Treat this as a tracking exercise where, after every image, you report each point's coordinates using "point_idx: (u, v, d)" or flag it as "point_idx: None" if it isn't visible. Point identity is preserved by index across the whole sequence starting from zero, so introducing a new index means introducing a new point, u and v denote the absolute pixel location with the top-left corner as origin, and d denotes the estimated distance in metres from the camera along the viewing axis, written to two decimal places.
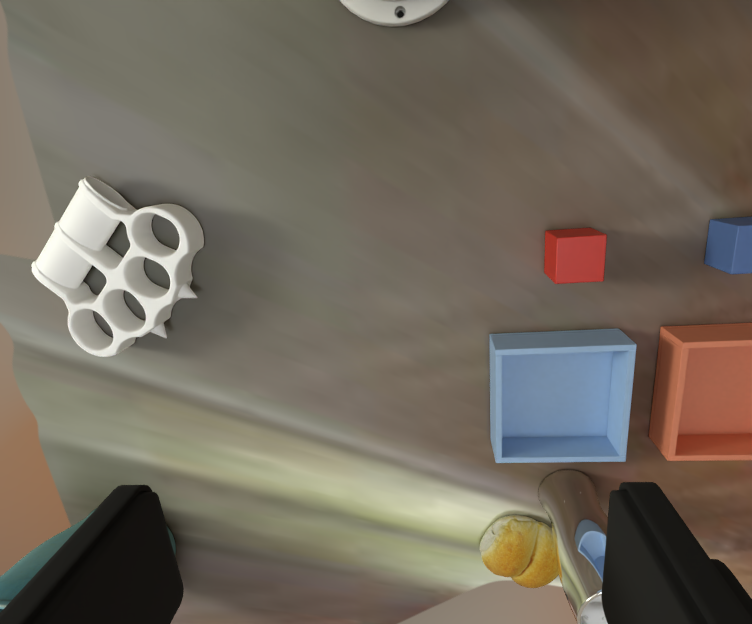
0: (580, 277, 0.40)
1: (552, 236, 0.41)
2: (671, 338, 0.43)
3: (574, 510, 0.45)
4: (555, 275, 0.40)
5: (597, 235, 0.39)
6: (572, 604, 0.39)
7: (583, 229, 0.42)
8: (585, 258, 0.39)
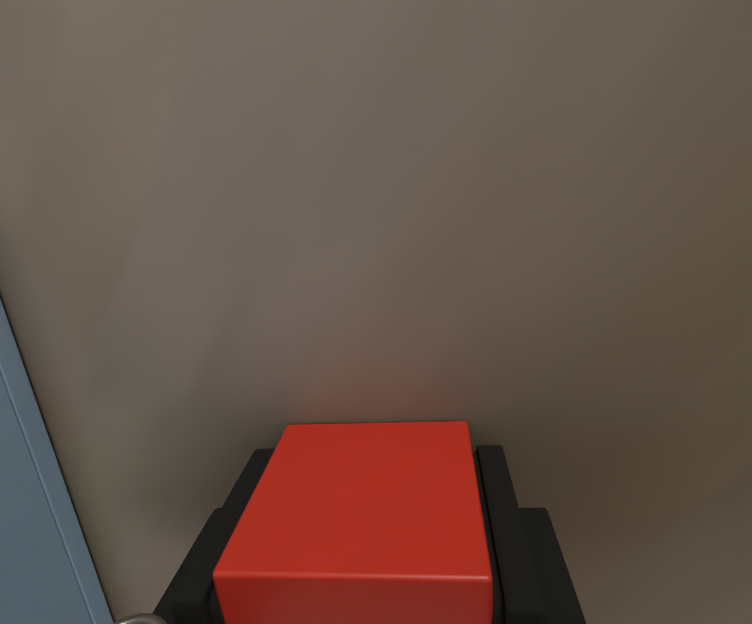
0: None
1: (473, 503, 0.08)
2: None
3: None
4: (260, 565, 0.07)
5: None
6: None
7: None
8: None
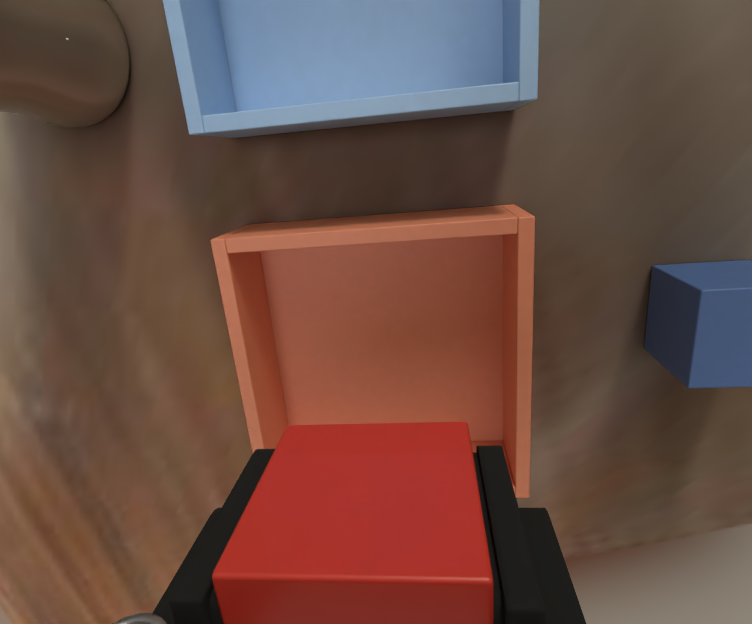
0: None
1: (474, 504, 0.08)
2: (514, 210, 0.18)
3: None
4: (260, 566, 0.07)
5: None
6: None
7: None
8: None
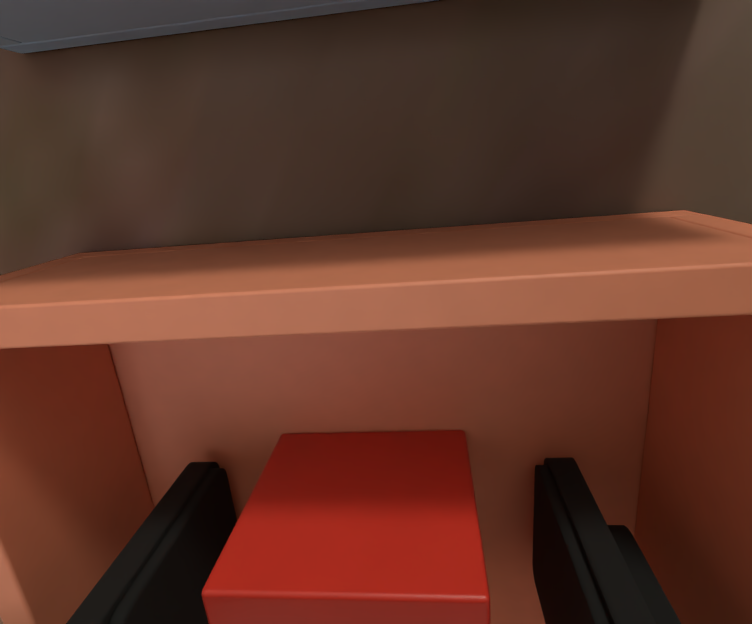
0: None
1: (471, 518, 0.07)
2: (737, 228, 0.07)
3: None
4: (250, 583, 0.07)
5: None
6: None
7: None
8: None
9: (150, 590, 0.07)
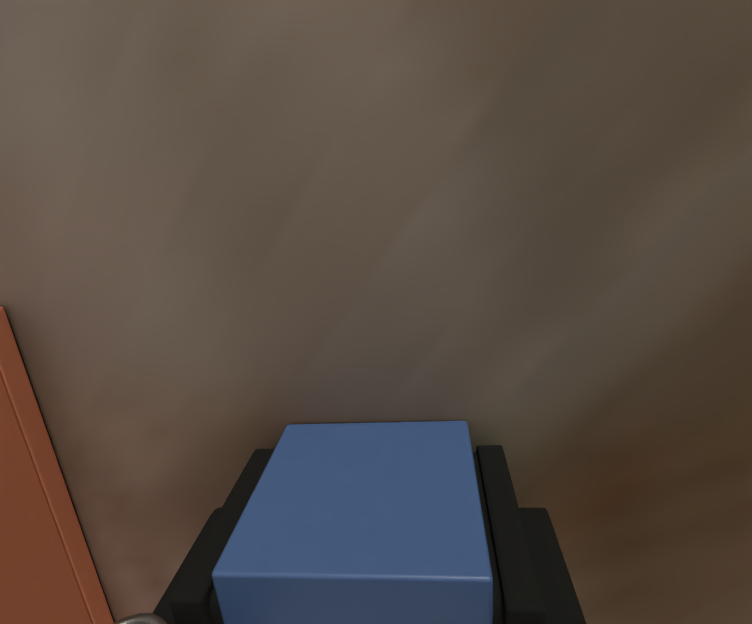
0: None
1: None
2: None
3: None
4: None
5: None
6: None
7: None
8: None
9: None
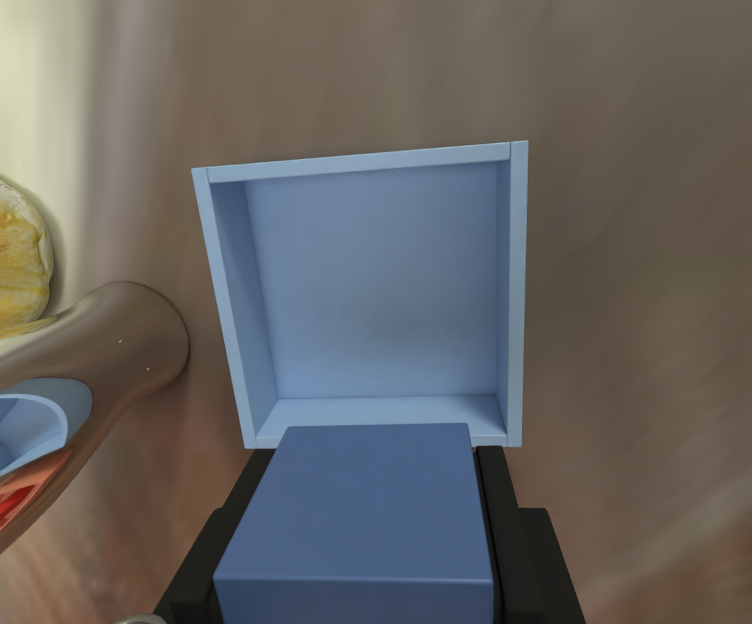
0: None
1: None
2: None
3: (105, 368, 0.19)
4: None
5: None
6: None
7: None
8: None
9: None
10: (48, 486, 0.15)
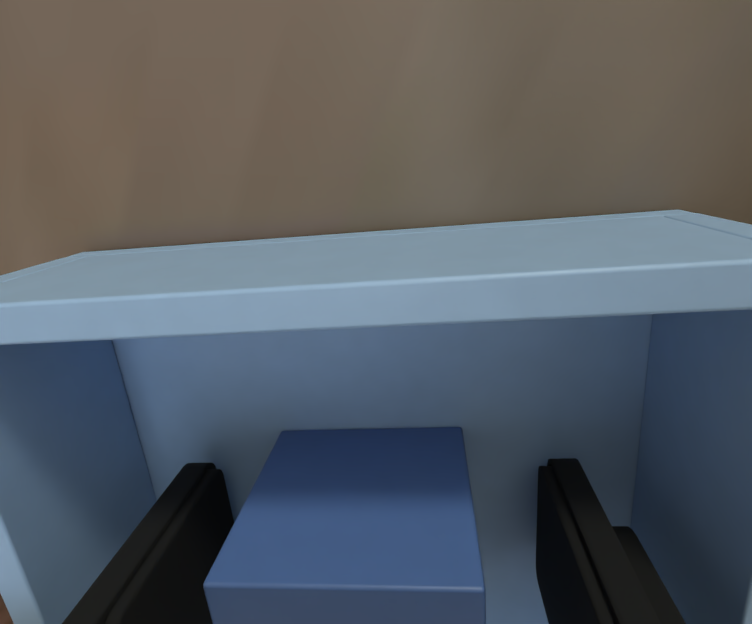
0: None
1: None
2: None
3: None
4: None
5: None
6: None
7: None
8: None
9: (146, 591, 0.07)
10: None
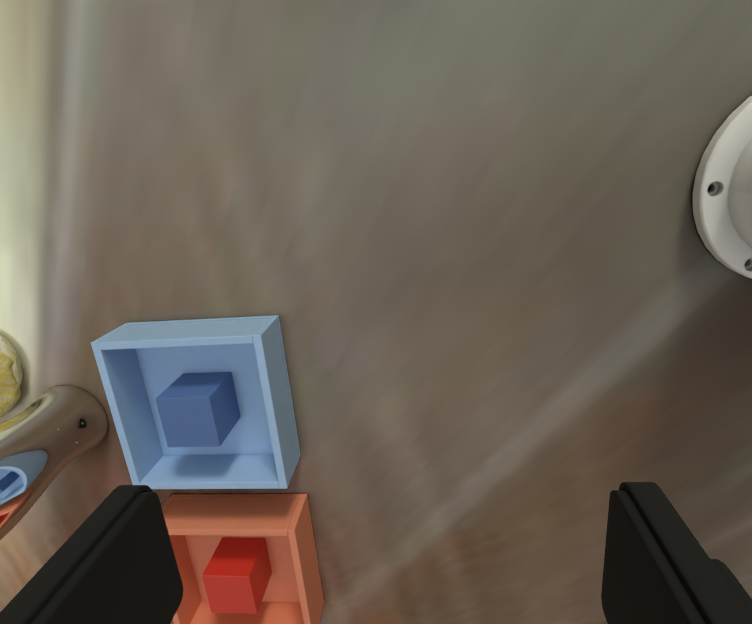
0: (211, 595, 0.38)
1: (253, 561, 0.38)
2: (296, 511, 0.38)
3: (47, 448, 0.33)
4: (210, 574, 0.38)
5: (256, 606, 0.38)
6: None
7: (267, 573, 0.41)
8: (231, 598, 0.38)
9: None
10: (12, 517, 0.30)
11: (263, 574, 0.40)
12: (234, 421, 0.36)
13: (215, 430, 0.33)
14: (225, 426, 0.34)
